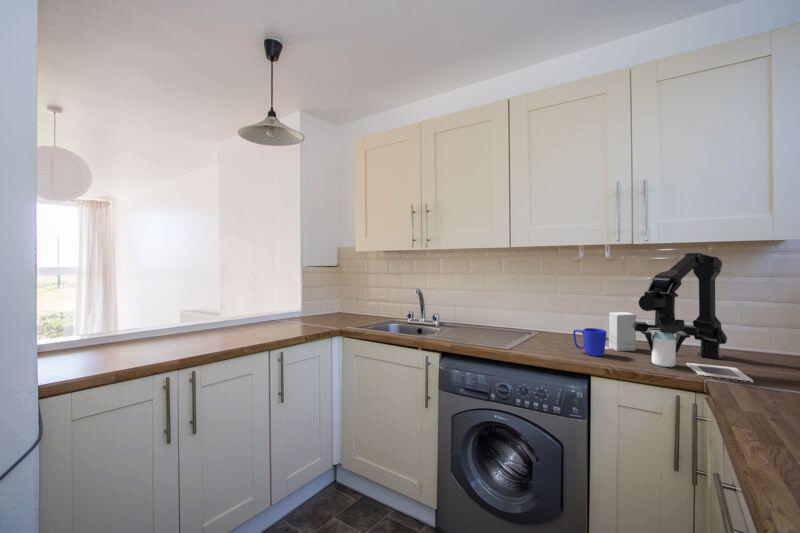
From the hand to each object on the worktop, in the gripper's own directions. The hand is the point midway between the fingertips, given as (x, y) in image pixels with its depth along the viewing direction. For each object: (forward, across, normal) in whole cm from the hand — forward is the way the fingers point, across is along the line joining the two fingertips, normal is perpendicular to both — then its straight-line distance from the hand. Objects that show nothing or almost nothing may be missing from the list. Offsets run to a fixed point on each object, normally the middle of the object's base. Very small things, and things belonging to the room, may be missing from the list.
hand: (663, 351), depth 133 cm
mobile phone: (+6, -15, +25) cm, 30 cm away
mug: (+5, -24, +5) cm, 25 cm away
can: (+5, 0, 0) cm, 5 cm away
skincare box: (+5, -11, +19) cm, 23 cm away
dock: (+5, +15, -2) cm, 16 cm away
